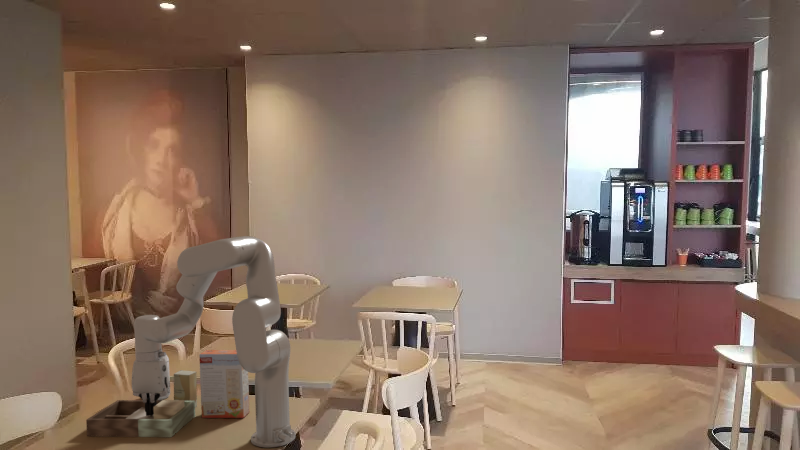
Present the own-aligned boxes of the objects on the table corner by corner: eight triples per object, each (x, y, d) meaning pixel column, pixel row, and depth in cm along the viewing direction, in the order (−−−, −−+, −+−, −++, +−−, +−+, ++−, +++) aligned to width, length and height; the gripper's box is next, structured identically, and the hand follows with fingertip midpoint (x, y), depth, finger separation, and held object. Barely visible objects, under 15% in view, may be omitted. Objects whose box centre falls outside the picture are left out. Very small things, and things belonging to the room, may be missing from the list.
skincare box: (173, 409, 199) (172, 373, 198) (181, 405, 203) (179, 369, 202) (190, 411, 197) (189, 374, 197) (198, 406, 201) (196, 370, 201)
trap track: (195, 415, 193) (194, 400, 192) (171, 437, 176) (170, 420, 176) (118, 415, 195) (117, 400, 195) (87, 436, 178) (86, 419, 178)
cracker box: (250, 412, 195) (248, 349, 194) (243, 419, 189) (241, 353, 188) (208, 411, 197) (206, 348, 195) (201, 418, 191) (198, 353, 189)
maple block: (184, 412, 187) (184, 400, 187) (176, 420, 181) (175, 407, 181) (163, 412, 188) (162, 400, 188) (153, 419, 182) (153, 406, 182)
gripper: (177, 352, 187) (179, 410, 188) (131, 352, 188) (134, 409, 189) (166, 359, 180) (168, 419, 181) (118, 359, 181) (121, 418, 182)
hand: (151, 414), depth 185 cm, fingers closed
